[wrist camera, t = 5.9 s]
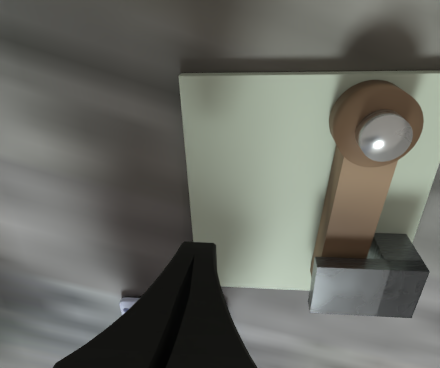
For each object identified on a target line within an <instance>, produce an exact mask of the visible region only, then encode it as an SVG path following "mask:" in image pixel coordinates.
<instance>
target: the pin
mask: <svg viewBox="0 0 440 368" xmlns="http://www.w3.org/2000/svg"><path fill="white" fill-rule="evenodd" d="M355 138H356V142H357V144H358V145H359V147H360V148H361V150H362V151H363V153H364V154H365V155H366V156H367V157H368V158H369V159H371V160H374V161H379V162H385V161H390V160H393V159H395V158H397V157H399V156H400V155H402V154H403V153H404V152H405V151H406V150H407V149H408V147H409V146H410V144H411V142H412V138H413V131H412V128H411V126H410V124H409V123H408V122H407V121H406V120H405V119H404V118H403V117H402V116H400V115H399V114H398V113H397V112H395V111H393V110H389V109H380V110H376V111H373V112H371V113H369V114H367V115H366V116H365V117H364V118H363V119H362V120H361V121H360V122H359V124H358V126H357V128H356V132H355Z"/></svg>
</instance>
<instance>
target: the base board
mask: <svg viewBox="0 0 440 368" xmlns="http://www.w3.org/2000/svg"><path fill="white" fill-rule="evenodd" d="M368 80H384V81H388V82H390V83H393V84H394V85H396V86H398V87H399V88H401V89H402V90H403V91H405V92H406V93H408V94H409V95H411V96H412V97H413V98H414V99H415V100H416V101H417V102H418V104H419V105H420V107H421V109H422V112H423V117H424V123H423V129H422V133H421V135H420V138H419V139H418V141H417V143H416V144H415V146H414V147H413V148H412V149H411V150H410V151H409V152H408V153H407V154H406V155H405V156H403V157H402V158H401V159H399V160H398V162H397V165H396V168H395V172H394V175H393V178H392V181H391V184H390V187H389V190H388V193H387V196H386V200H385V203H384V206H383V209H382V212H381V215H380V218H379V221H378V224H377V228H376V231H375V233H395V234H407V236H408V237H409V239H410V241H411V242H412V243H413V240H414V237H415V234H416V231H417V228H418V225H419V222H420V219H421V216H422V213H423V210H424V207H425V204H426V201H427V198H428V195H429V192H430V189H431V186H432V183H433V180H434V177H435V174H436V171H437V168H438V165H439V162H440V70H433V71H342V72H250V73H181V74H180V75H179V87H180V98H181V109H182V121H183V132H184V143H185V154H186V165H187V176H188V188H189V199H190V210H191V221H192V232H193V242H206V243H214V244H215V245H216V254H217V273H218V277H219V281H220V285H221V286H223V287H244V288H265V289H287V290H308V291H310V285H311V273H310V267H311V262H312V258H313V253H314V248H315V244H316V239H317V234H318V229H319V225H320V220H321V215H322V210H323V206H324V201H325V196H326V191H327V187H328V182H329V177H330V172H331V168H332V163H333V158H334V154H335V149H336V143H335V141H334V139H333V137H332V135H331V133H330V129H329V116H330V112H331V110H332V107H333V105H334V104H335V102H336V101H337V99H338V98H339V97H340V96H341V95H342V94H343V93H344V92H345V91H346V90H347V89H349V88H350V87H352V86H354V85H356V84H358V83H360V82H364V81H368Z"/></svg>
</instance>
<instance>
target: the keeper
mask: <svg viewBox="0 0 440 368" xmlns="http://www.w3.org/2000/svg"><path fill="white" fill-rule="evenodd" d="M428 275H429V270H428V268H427V267H426V265H425V264H424V262H423V260H422V259H421V257H420V255H419V254H418V252H417V251H416V249H415V247H414V246H413V244H412V242H411V241H410V239H409V237H408V236H407V234H395V233H375V234H374V237H373V240H372V243H371V246H370V249H369V252H368V256H367V259H366V258H339V257H315V258H314V265H313V272H312V278H311V285H310V292H309V298H308V304H309V310H310V313H325V314H344V315H363V316H382V317H401V318H412V315H413V313H414V310H415V308H416V305H417V303H418V300H419V298H420V295H421V292H422V290H423V287H424V285H425V282H426V280H427V277H428Z"/></svg>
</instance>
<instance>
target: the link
mask: <svg viewBox="0 0 440 368" xmlns="http://www.w3.org/2000/svg"><path fill="white" fill-rule="evenodd" d="M380 109H389V110H393V111H395V112H397V113H398V114H399V115H400V116H402V117H403V118H404V119H405V120H406V121H407V122H408V123H409V124H410V126H411V128H412V131H413V138H412V142H411V144H410V146H409V147H408V149H407V150H406V151H405V152H404V153H403V154H402V155H400V156H399V157H397V158H395V159H393V160H390V161H385V162H379V161H374V160H371V159H369V158H368V157H367V156H366V155H365V154H364V153H363V151H362V150H361V148H360V147H359V145H358V144H357V142H356V138H355V132H356V128H357V126H358V124H359V122H360V121H361V120H362V119H363V118H364V117H365V116H366V115H367V114H369V113H371V112H373V111H376V110H380ZM423 123H424V117H423V112H422V109H421V107H420V105H419V104H418V102H417V101H416V100H415V99H414V98H413V97H412V96H411V95H409V94H408V93H406V92H405V91H403V90H402V89H401V88H399V87H398V86H396V85H394V84H393V83H390V82H388V81H384V80H368V81H364V82H360V83H358V84H356V85H354V86H352V87H350V88H349V89H347V90H346V91H345V92H344V93H343V94H342V95H341V96H340V97H339V98H338V99H337V101H336V102H335V104H334V105H333V107H332V110H331V112H330V116H329V129H330V133H331V135H332V137H333V139H334V141H335V143H336V149H335V154H334V158H333V163H332V168H331V172H330V177H329V182H328V187H327V191H326V196H325V201H324V206H323V210H322V215H321V220H320V225H319V229H318V234H317V239H316V244H315V248H314V253H313V258H312V262H311V267H310V273H311V278H312V272H313V265H314V258H315V257H339V258H366V259H367V256H368V252H369V249H370V246H371V243H372V240H373V237H374V234H375V231H376V228H377V224H378V221H379V218H380V215H381V212H382V209H383V206H384V203H385V200H386V196H387V193H388V190H389V187H390V184H391V181H392V178H393V175H394V172H395V168H396V165H397V162H398V160H399V159H401V158H402V157H403V156H405V155H406V154H407V153H408V152H409V151H410V150H411V149H412V148H413V147H414V146H415V144H416V143H417V141H418V139H419V138H420V135H421V133H422V129H423Z"/></svg>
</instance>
